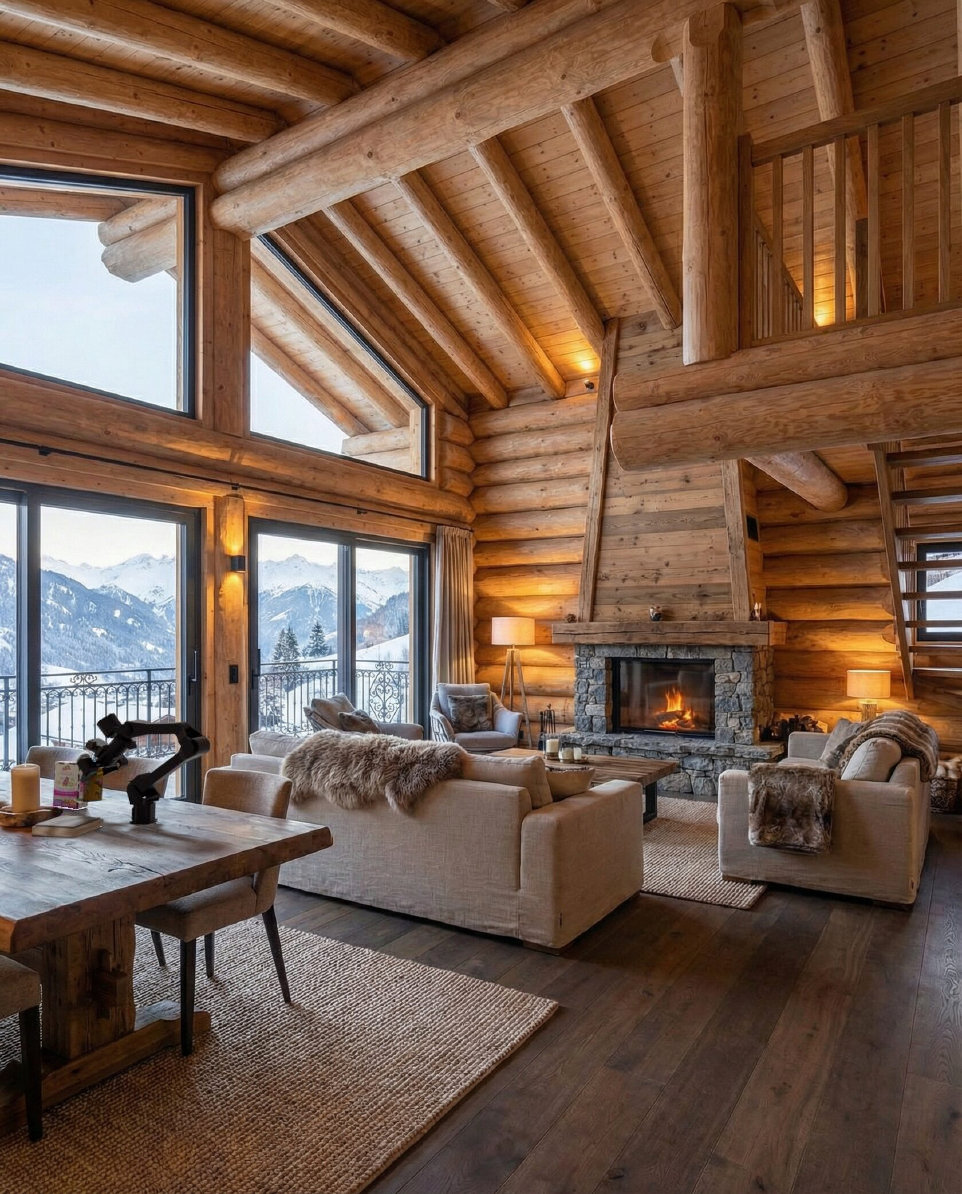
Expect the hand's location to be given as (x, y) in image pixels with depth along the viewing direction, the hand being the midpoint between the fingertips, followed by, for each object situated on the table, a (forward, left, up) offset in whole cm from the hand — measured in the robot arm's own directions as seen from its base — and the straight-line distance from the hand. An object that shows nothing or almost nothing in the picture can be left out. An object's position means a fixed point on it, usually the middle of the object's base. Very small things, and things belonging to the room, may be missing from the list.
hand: (88, 779), depth 275 cm
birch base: (-7, +19, -12) cm, 24 cm away
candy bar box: (+13, -10, -12) cm, 21 cm away
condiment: (-1, +1, -7) cm, 7 cm away
